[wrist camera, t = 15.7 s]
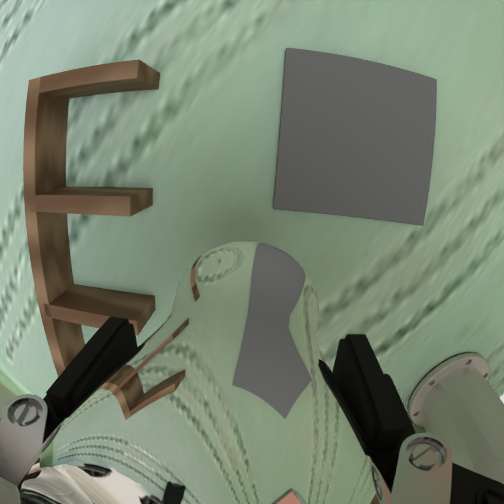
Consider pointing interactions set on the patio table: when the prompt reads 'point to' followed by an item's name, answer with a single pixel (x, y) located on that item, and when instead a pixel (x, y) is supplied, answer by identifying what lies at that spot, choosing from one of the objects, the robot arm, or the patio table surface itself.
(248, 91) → the patio table surface
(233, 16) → the patio table surface
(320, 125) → the rubber mat
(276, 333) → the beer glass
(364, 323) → the patio table surface
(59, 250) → the slot rack
